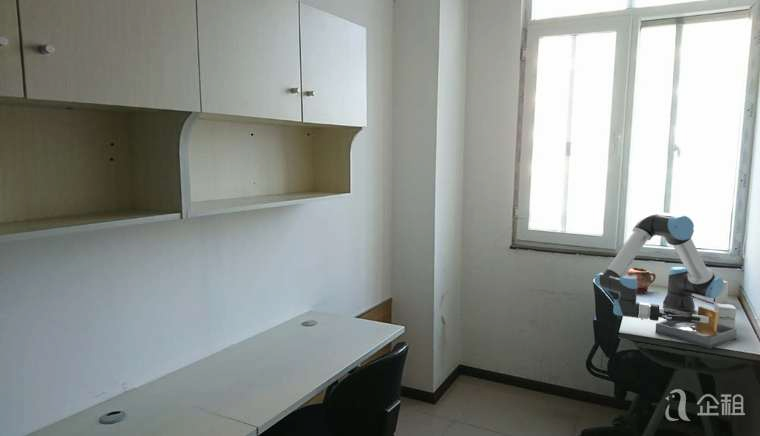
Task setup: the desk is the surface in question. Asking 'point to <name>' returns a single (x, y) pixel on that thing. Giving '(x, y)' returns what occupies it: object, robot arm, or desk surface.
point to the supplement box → (725, 314)
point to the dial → (702, 324)
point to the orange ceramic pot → (642, 278)
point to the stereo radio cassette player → (721, 298)
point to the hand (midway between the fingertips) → (708, 319)
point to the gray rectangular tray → (722, 334)
